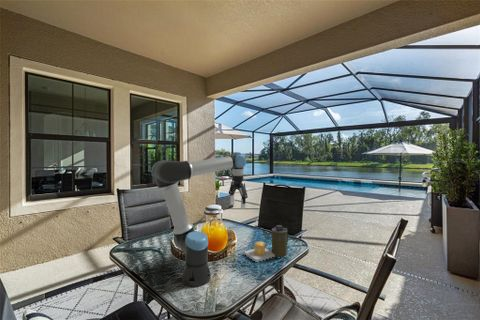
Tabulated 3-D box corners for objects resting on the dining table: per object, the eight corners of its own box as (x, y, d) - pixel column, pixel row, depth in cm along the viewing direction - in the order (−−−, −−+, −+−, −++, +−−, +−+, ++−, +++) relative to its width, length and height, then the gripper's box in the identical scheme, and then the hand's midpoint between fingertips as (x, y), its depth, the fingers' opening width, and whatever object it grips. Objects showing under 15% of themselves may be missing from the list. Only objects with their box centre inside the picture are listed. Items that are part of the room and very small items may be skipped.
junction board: (256, 262, 136) (256, 252, 136) (243, 254, 148) (243, 244, 147) (275, 256, 145) (276, 246, 145) (262, 249, 156) (262, 240, 156)
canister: (275, 260, 141) (276, 228, 141) (268, 253, 151) (269, 224, 151) (290, 257, 144) (291, 227, 144) (282, 251, 154) (283, 222, 154)
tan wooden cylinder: (258, 255, 141) (259, 246, 141) (252, 251, 147) (252, 242, 147) (267, 253, 145) (267, 244, 145) (260, 249, 151) (260, 240, 151)
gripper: (253, 176, 140) (252, 209, 141) (233, 173, 161) (232, 202, 161) (243, 176, 136) (243, 211, 136) (224, 174, 157) (223, 203, 157)
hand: (237, 206), depth 149 cm, fingers open, 13 cm apart
